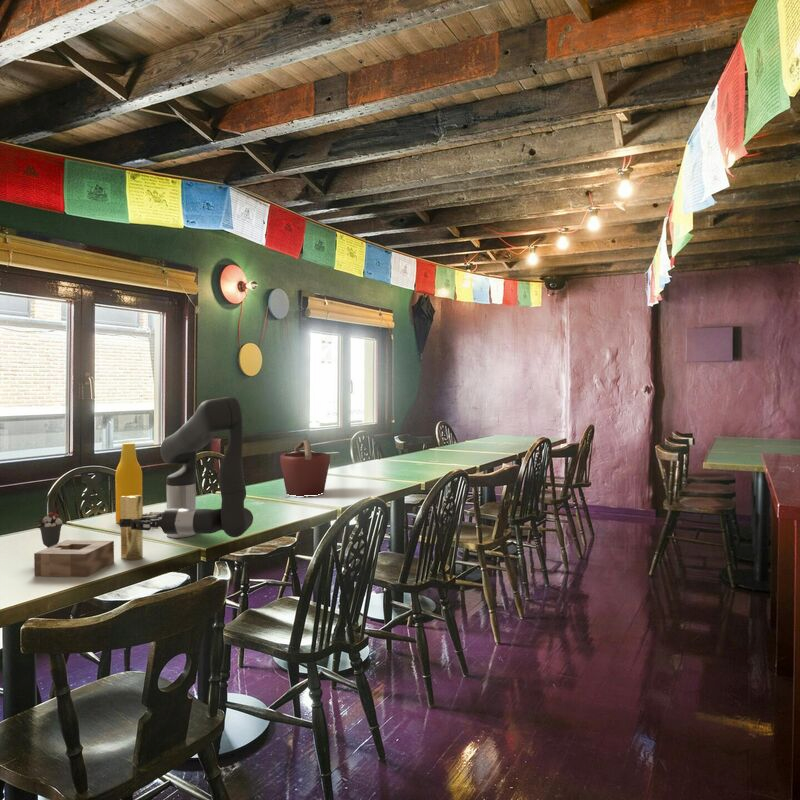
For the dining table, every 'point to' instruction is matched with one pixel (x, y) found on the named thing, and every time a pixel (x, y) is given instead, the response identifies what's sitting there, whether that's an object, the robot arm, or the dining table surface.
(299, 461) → the bucket
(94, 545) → the walnut socket block
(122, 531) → the brass peg
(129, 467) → the beer bottle
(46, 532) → the sundae
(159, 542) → the dining table surface
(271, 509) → the dining table surface
